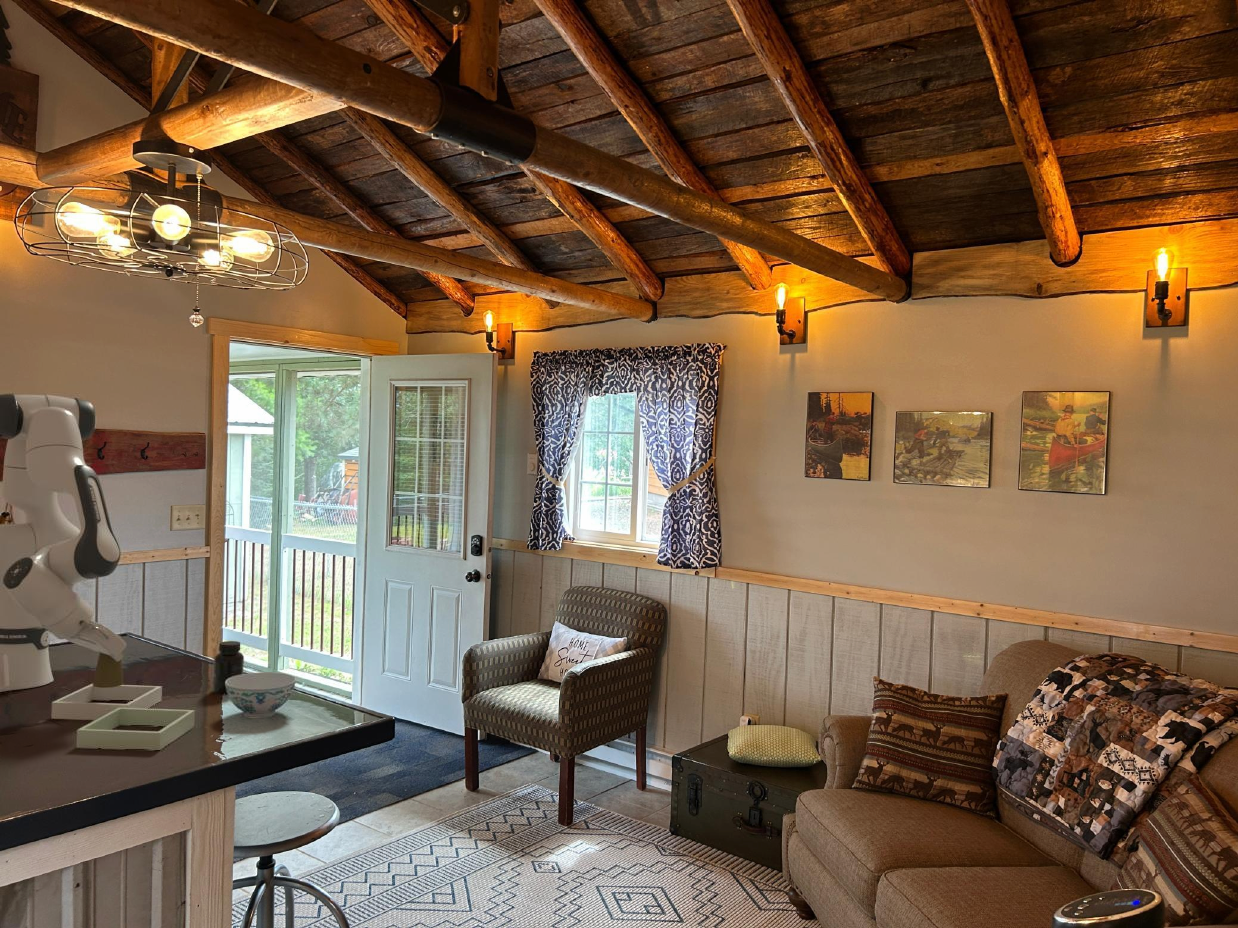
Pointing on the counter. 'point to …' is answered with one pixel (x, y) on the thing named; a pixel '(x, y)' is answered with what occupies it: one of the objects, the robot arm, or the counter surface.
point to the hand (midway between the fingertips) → (112, 656)
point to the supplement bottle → (227, 665)
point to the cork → (108, 671)
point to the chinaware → (260, 692)
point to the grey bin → (82, 710)
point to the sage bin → (106, 738)
